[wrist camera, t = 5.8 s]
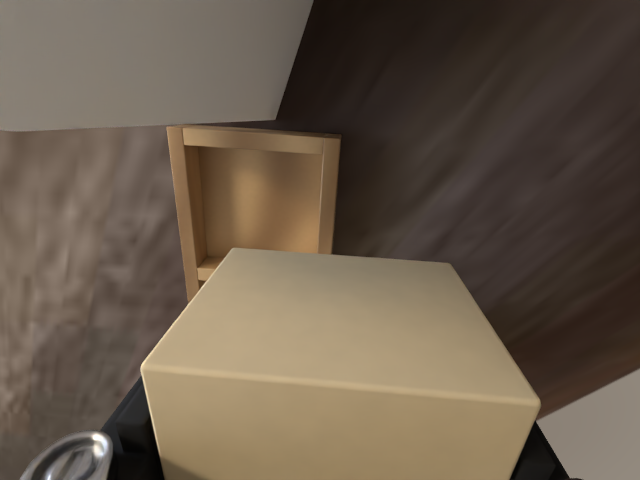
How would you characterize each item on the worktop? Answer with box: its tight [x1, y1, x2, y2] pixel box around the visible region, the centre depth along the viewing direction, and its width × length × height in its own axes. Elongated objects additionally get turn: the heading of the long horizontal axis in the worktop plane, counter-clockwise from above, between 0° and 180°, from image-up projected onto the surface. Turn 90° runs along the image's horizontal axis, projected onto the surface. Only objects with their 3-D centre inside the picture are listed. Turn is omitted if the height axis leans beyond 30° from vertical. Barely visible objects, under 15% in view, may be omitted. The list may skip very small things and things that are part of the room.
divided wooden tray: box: [167, 124, 342, 304], centre depth 24 cm, size 10×20×3 cm, turn 177°
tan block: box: [141, 248, 541, 480], centre depth 8 cm, size 6×6×4 cm
